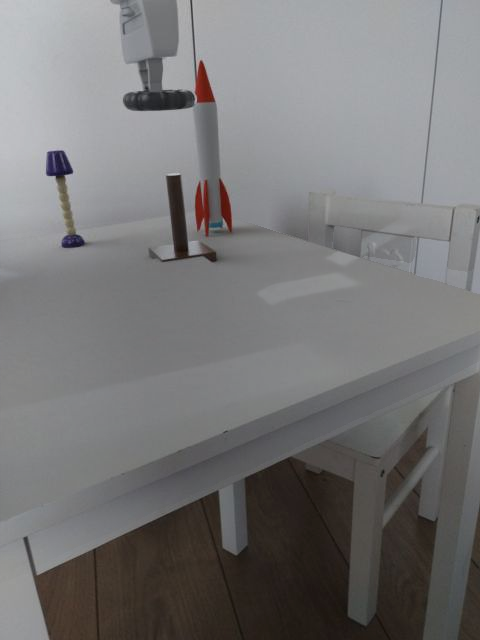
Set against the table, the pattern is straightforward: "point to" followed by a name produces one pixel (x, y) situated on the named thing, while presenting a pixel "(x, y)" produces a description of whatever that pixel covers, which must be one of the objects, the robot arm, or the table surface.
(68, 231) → the toy lamp
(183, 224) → the stand
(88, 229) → the table surface
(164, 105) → the ring
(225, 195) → the toy rocket
